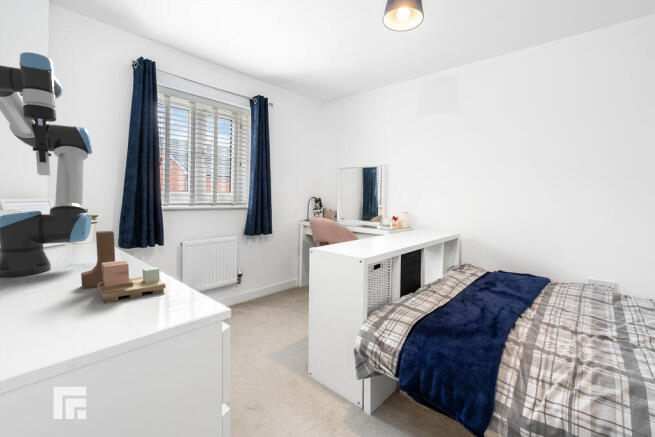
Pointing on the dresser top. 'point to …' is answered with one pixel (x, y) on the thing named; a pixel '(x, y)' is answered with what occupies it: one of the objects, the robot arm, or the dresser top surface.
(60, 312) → the dresser top surface
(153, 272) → the pale green cube
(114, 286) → the pink slab on base
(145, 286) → the wooden pallet
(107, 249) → the wooden block
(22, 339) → the dresser top surface
